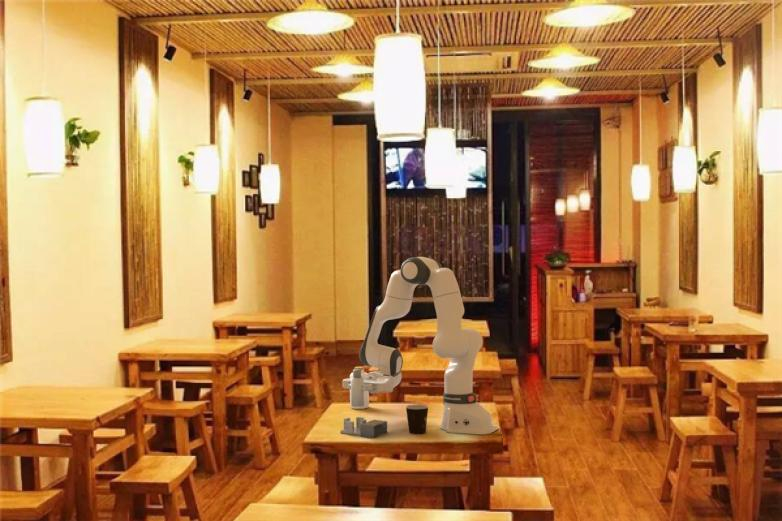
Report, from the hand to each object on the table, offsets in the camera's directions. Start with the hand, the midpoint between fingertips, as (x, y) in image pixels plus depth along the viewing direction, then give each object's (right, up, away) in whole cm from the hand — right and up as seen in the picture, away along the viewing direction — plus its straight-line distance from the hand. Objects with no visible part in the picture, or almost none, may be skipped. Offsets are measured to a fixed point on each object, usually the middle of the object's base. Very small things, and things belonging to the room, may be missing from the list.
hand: (356, 387), depth 343 cm
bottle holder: (+4, -17, -4) cm, 18 cm away
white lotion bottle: (+1, -7, +1) cm, 7 cm away
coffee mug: (+23, -17, -5) cm, 29 cm away
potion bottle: (0, -16, +45) cm, 48 cm away
